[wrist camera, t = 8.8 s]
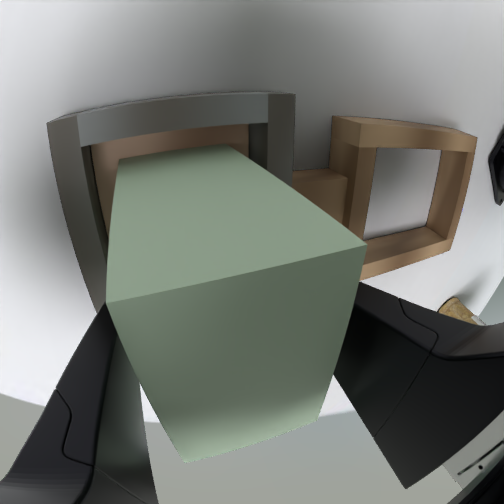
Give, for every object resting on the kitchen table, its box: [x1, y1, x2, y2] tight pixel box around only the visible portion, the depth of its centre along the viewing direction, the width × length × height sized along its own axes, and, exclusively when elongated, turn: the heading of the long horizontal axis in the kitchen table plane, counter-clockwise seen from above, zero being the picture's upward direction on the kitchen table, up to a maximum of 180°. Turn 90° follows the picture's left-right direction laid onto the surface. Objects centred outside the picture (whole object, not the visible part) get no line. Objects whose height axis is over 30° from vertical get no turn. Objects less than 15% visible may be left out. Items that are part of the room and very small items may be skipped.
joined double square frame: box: [47, 91, 477, 313], centre depth 14 cm, size 21×10×2 cm, turn 89°
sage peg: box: [106, 144, 367, 463], centre depth 9 cm, size 6×4×8 cm, turn 179°
